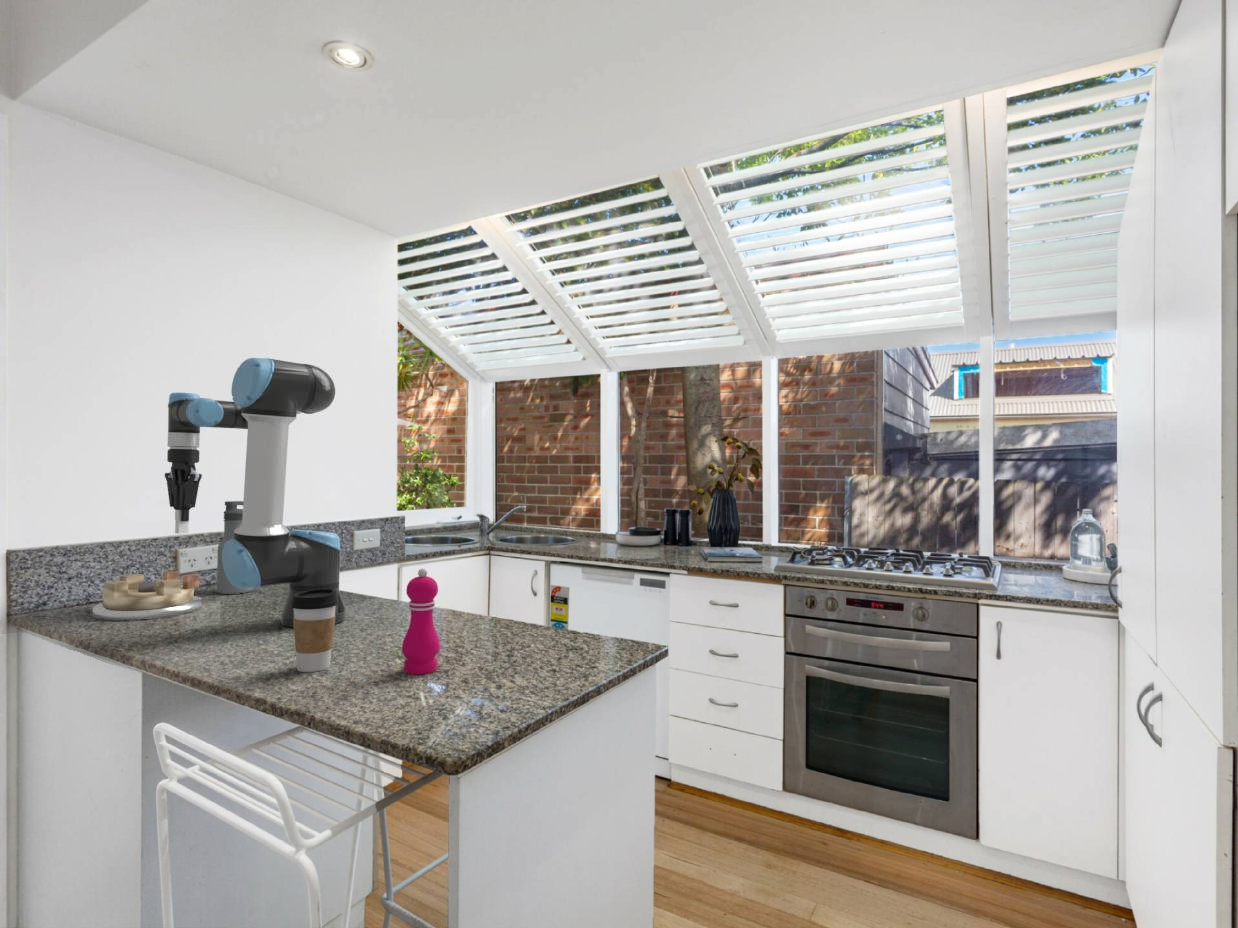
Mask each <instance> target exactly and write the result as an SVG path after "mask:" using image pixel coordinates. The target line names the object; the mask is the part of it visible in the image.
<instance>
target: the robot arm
mask: <svg viewBox="0 0 1238 928" xmlns="http://www.w3.org/2000/svg"><path fill="white" fill-rule="evenodd" d="M230 390H231V391H230V392H231V393H230V394H231V396H232V401H229V400H228V401H227V400H219V399H218V400H217V399H213V398H206V397H201V396H200V394H198V393H192V392H172V393H170V394H169V397H168V403H167V408H168V409H167V410H168V413H167V415H168V416H167V417H168V418H167V424H168V425H167V428H168V431H167V447H169V448H168V449H167V462H168V463H171V467H170V471H168V472H165V473H164V478H165V480H166V485H167V486H166V487H167V494H168V502H169V507H170V508H173V510H175V511H174V512H175V514H174V515H175V516H174V517H175V523H174V526H175V529H174V533H175V534H180V535H181V534H188V533H189V524H190V523H189V521H190V510H191V509H193V508H195V507H196V502H197V497H198V491H199V486H200V482H201V480H202V477H203V474H201V473H197V469H196V464H197V463H200V450H199V449H198V448H199V447H200V439H201V438H200V433H201V428H217V429H218V428H220V429H241V430H247V437H246V438H247V439H246V450H245V451H246V454H245V469H244V485H243V486H244V487H243V488H244V489H243V500H242V501H243V505H242V509H243V517H242V524H241V525H240V526H239V527H238V528H237V529H235V530H234V539H231V540H229V541H227V542H226V543H225V544H224V547H223V549H222V564H223V568H224V571H225V574H226V576H227V578H228V580H229V581H230V583H231V584H232V585H233V586H235V587H237V588H240V589H246V588H253V589H255V590H256V589H259V588H263V587H265V588H266V587H270V586H272V587H273V586H278V585H287V584H289V587H288V588H289V590H288V595H287V597H286V600H285V603H284V606H283V608H282V611H281V614H280V624H281V625H282V626H283V627H289V628H294V625H293V617H294V608H292V607H291V606H292V604H291V603H292V601H293V596H294V595H295V594H297V593H300V592H305V591H309V590H314V589H322V588H327V589H334V590H336V595H337V600H338V601H337V603H338V604H337V605H336V606H335V615H336V617H335V625H337V624H341V623H343V622H345V621H346V620H347V611H346V610H347V609H346V606H345V603H344V600H343V597H342V595H341V591H340V563H341V561H340V559H341V551H342V550H341V541H340V540H341V539H340V537H339V535H338V534H337V533H335V532H329V531H320V530H319V531H318V530H307V529H291V530H289V529H288V528H287V527H286V526H285V524H283V523H284V509H285V507H284V506H285V491H286V475H287V460H288V440H289V426H290V424H291V423H293V422H294V421H295V420H297V415H299V414H306V415H311V414H312V415H313V414H316V413H318V412H323V411H324V410H326V409H328V408H329V407H330V406H331V404H332V403H333V401H334V399H335V395H336V387H335V383H334V380H333V379H332V377H331V376H330V375H329V374H328V373H327V372H326V371H325V370H324V369H322V368H320V367H319V366H316V365H312V364H308V363H299V362H293V361H285V360H280V359H276V358H275V359H273V358H268V357H266V358H265V357H264V358H262V357H250V358H246V359H245V360H244V361H242V362H241V364H240V365H239V366H238V367H237V369H236V371H235V373H234V376H233V379H232V382H231V389H230Z"/></svg>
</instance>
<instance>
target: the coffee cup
mask: <svg viewBox="0 0 1238 928" xmlns="http://www.w3.org/2000/svg"><path fill="white" fill-rule="evenodd" d="M337 601H338V600H337V595H336V590H334V589H327V588H322V589H314V590H309V591H305V592H300V593H297V594H295V595H294V596H293V601H292V603H291V604H292V606H291V607H292V608H294V617H293V625H294V627H293V634H294V635H293V636H294V647H295V648H294V649H295V657H296V659H295V660H296V670H297V671H298V672H302V673H313V672H320V671H324V670H328V669H329V668H330V666H331V656H332V648H333V641H334V634H335V625H336V624H335V617H336V615H335V606H336V605H337V604H338V603H337Z"/></svg>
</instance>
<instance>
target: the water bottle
mask: <svg viewBox="0 0 1238 928" xmlns="http://www.w3.org/2000/svg"><path fill="white" fill-rule="evenodd" d="M224 505H225V510H224V511H223V522H224V527H223V528H224V529H223V530H224V531H223V540H222V541H221V542H220V543H219V544H218V545H217V563H216V564H217V565H216V567H217V568H216V570H217V571H216V573H217V574H216V575H217V576H216V592H217V593H218V594H221V595H226V594H232V595H241V594H240V593H243V594H247V593H246V592H248V593H250V592H252V591H253V589H254V588H246V589H240V588H237V587H235V586H233V585H232V584H231V583H230V581H229V580H228V578H227V576H226V574H225V571H224V568H223V564H222V549H223V547H224V544H225V543H226V542H227V541H229V540H231V539H234V530H235V529H237V528H238V527H239V526H240V525H241V524H242V517H243V508H238V506H243V500H242V501H241V500H230V501H229V500H227V501H224Z"/></svg>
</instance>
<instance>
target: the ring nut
mask: <svg viewBox="0 0 1238 928" xmlns="http://www.w3.org/2000/svg"><path fill="white" fill-rule="evenodd" d="M144 577H145V574H142V573H131V574H123V575H119V579H118V580H113V581H112V580H111V581H106V582H104V586H103V587H104V589H103V594H102V603H103V607H104V608H107V609H114V610H140V609H153V608H162V607H169V606H175V605H180V604H184V603H188V602H190V601H192V600H193V599H194V596H195V595H194V593H195V592H194V589H195V588H196V589H197V588H200V574H197V573H192V574H185V575H184V574H183V575H182V579H180V571H176V570H175V571H168V572H163V573H162V580H156V581H146V582H145V580H144V579H145V578H144Z"/></svg>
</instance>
